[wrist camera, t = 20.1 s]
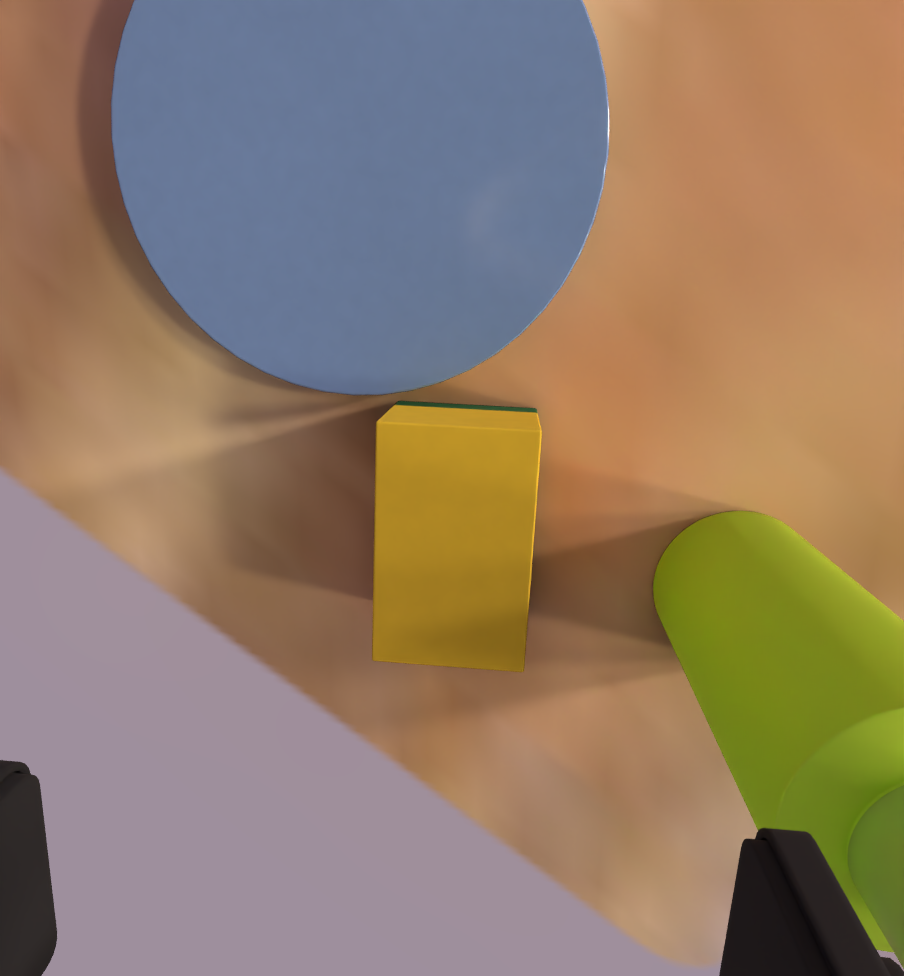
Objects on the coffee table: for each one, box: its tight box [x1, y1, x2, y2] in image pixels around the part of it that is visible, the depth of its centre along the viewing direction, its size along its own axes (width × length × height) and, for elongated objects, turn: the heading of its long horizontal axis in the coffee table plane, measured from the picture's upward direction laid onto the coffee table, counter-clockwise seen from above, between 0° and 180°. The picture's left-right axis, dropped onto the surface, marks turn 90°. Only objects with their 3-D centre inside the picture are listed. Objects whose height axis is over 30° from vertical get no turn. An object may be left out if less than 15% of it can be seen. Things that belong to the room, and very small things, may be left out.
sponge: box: [372, 401, 542, 672], centre depth 25 cm, size 8×5×4 cm, turn 178°
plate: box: [111, 0, 610, 395], centre depth 24 cm, size 16×16×1 cm
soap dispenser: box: [653, 511, 904, 968], centre depth 18 cm, size 6×7×20 cm
